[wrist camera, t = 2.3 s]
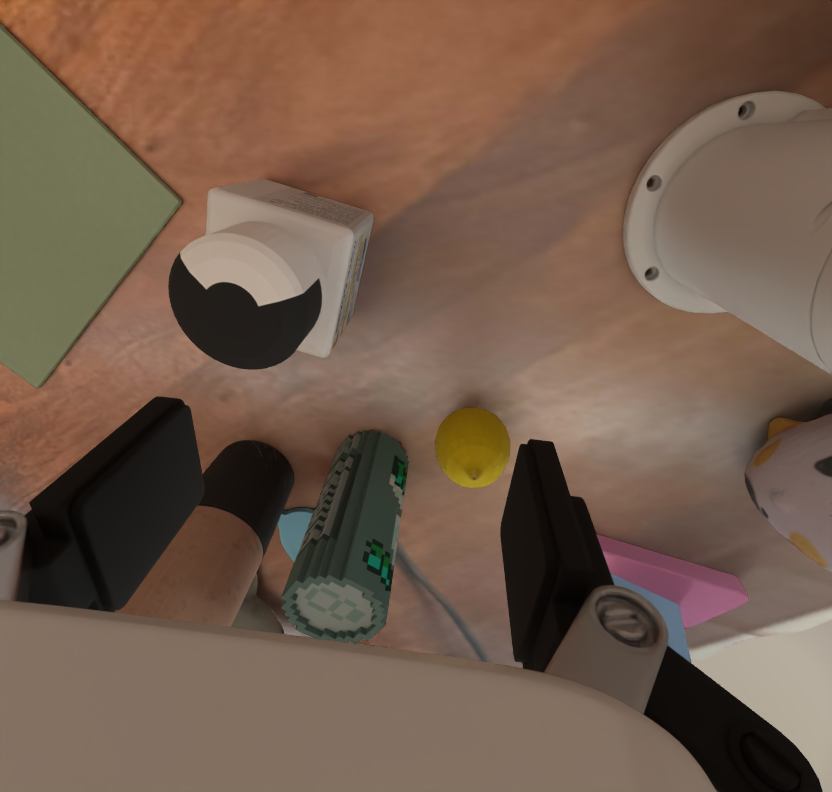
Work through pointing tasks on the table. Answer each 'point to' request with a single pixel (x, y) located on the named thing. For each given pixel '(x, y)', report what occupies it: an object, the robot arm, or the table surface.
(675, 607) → the trophy
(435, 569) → the table surface
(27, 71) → the mat
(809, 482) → the figurine
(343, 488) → the can
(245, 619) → the shark figurine
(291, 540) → the decorative object
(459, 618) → the table surface
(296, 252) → the container
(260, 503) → the travel mug
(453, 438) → the fruit
